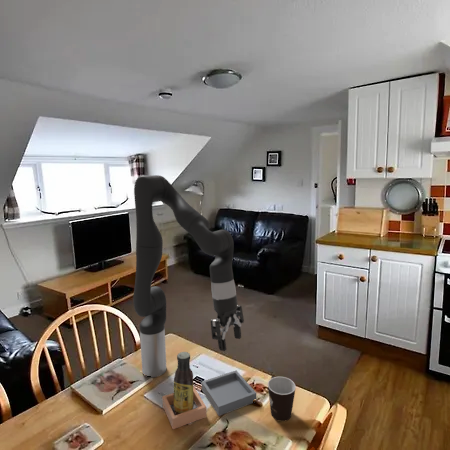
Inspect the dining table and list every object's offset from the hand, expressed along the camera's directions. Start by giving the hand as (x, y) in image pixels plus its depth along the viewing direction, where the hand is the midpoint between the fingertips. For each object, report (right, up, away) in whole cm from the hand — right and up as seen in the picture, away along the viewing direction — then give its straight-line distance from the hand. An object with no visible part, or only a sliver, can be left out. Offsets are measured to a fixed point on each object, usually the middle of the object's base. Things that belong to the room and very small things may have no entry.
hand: (230, 344), depth 102 cm
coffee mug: (+16, -22, +2) cm, 28 cm away
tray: (-1, -21, +9) cm, 23 cm away
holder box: (-15, -23, +2) cm, 27 cm away
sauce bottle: (-15, -23, +2) cm, 27 cm away
